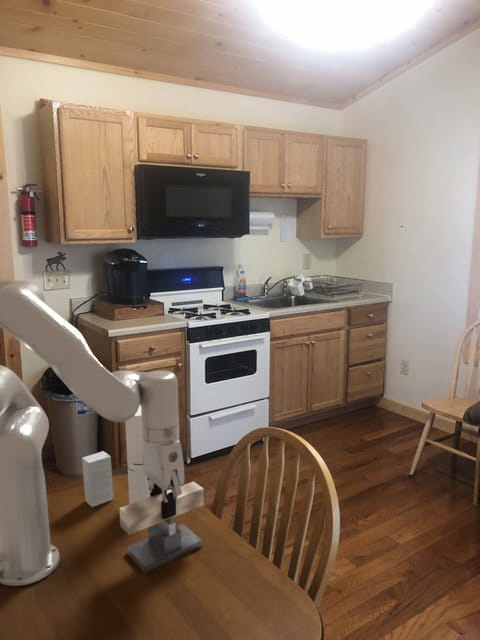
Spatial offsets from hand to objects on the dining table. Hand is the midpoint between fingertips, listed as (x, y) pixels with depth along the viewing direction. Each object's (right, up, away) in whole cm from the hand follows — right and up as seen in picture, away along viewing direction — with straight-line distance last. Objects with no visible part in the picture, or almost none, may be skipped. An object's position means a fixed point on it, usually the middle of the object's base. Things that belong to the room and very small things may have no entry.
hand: (163, 511), depth 111 cm
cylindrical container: (-8, -6, +20) cm, 22 cm away
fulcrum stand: (0, -9, +2) cm, 9 cm away
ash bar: (0, -1, 0) cm, 1 cm away
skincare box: (-20, -5, +22) cm, 30 cm away
